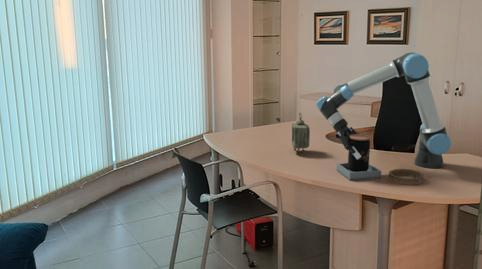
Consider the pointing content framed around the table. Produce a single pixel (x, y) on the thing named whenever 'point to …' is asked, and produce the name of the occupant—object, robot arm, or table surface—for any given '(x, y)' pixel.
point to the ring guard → (406, 180)
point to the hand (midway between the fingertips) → (364, 155)
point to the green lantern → (300, 135)
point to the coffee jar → (363, 148)
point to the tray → (350, 175)
